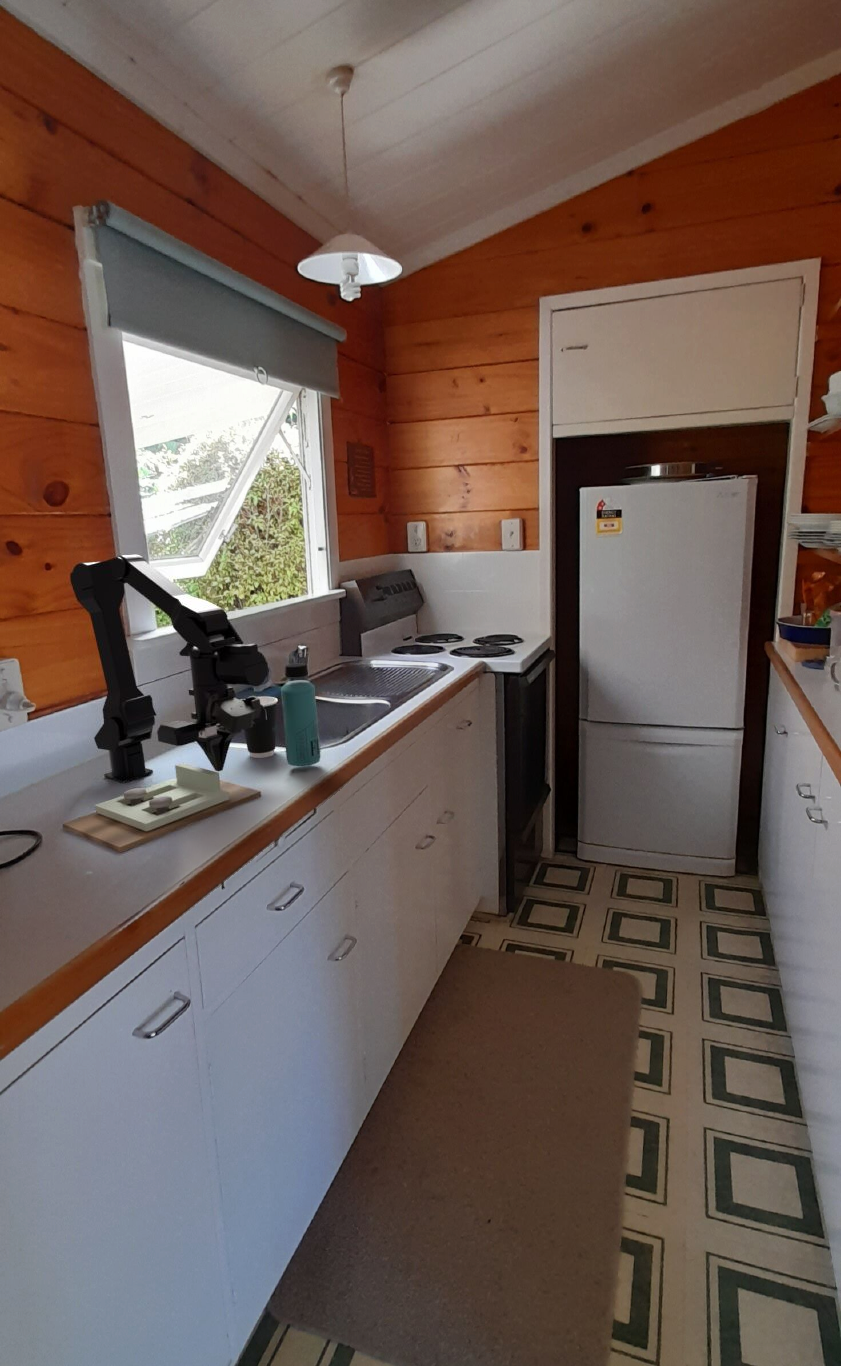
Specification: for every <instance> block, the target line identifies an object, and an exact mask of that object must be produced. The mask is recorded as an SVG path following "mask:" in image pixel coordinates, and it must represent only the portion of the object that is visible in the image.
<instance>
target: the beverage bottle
mask: <svg viewBox="0 0 841 1366" xmlns="http://www.w3.org/2000/svg"><path fill="white" fill-rule="evenodd" d="M284 668H285V669H284V675H285V677H286V678H302V677H306V676H307V677H308V675H309V671H308V666H307V663H305V662H294V663H289V664H286V665H285V667H284ZM280 693H281V705H282V716H283V721H282V722H283V732H284V733H283V734H284V735H283V736H284V750H285V755H286V761H287V764H288V765H289V766H292V767H293V766H294V767H309V766H312V765H316V764H318V763H319V762H320V761H321V754H322V753H321V746H320V736H319V733H320V730H319V723H318V722H319V721H318V715H319V714H318V709H317V708H318V707H317V702H316V686H315V685H314V684H313V683H312V682H311V681H309V680H303V679H298V680H297V679H295V680H290V681H287V682H286V683H285V684H283V686H282V687H281V689H280Z"/></svg>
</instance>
